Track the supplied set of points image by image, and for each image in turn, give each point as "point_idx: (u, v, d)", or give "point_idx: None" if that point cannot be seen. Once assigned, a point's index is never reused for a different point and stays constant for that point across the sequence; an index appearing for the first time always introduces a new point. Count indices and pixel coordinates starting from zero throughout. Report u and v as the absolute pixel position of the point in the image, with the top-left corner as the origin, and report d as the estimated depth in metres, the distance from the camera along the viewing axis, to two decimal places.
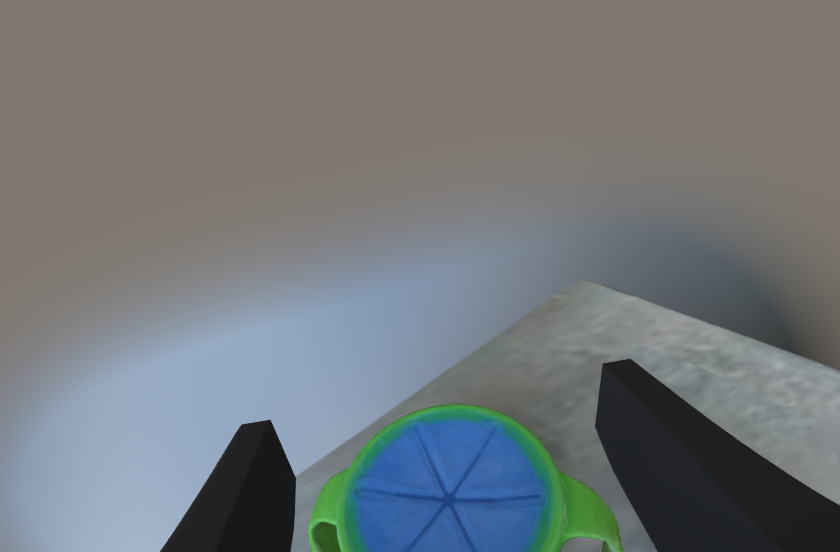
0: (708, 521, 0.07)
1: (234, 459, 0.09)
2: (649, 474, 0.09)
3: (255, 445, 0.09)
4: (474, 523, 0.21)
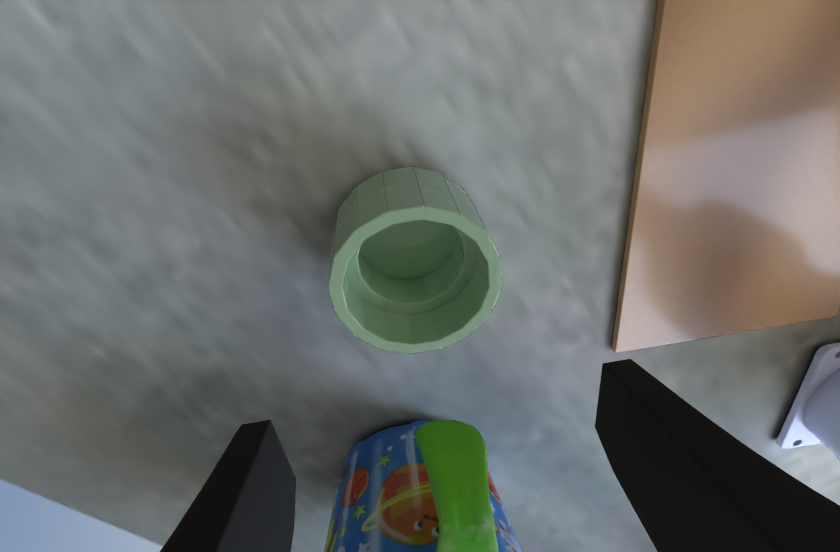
0: (708, 521, 0.07)
1: (234, 459, 0.09)
2: (649, 474, 0.09)
3: (255, 445, 0.09)
4: None
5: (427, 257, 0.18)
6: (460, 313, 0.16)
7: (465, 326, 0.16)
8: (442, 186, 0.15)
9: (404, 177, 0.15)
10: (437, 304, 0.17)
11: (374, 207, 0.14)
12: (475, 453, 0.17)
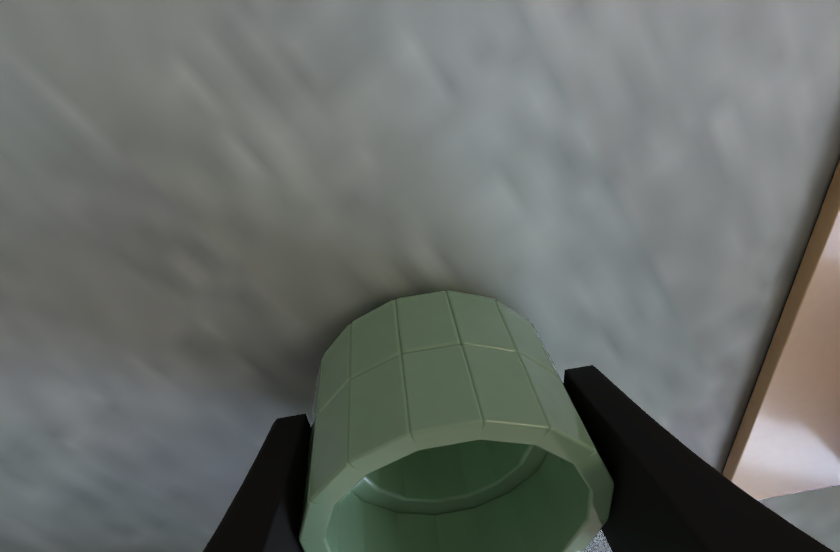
0: (656, 530, 0.07)
1: (274, 452, 0.09)
2: None
3: (293, 439, 0.09)
4: None
5: None
6: (526, 534, 0.10)
7: None
8: (502, 339, 0.09)
9: (435, 321, 0.09)
10: (483, 499, 0.11)
11: (384, 405, 0.07)
12: None
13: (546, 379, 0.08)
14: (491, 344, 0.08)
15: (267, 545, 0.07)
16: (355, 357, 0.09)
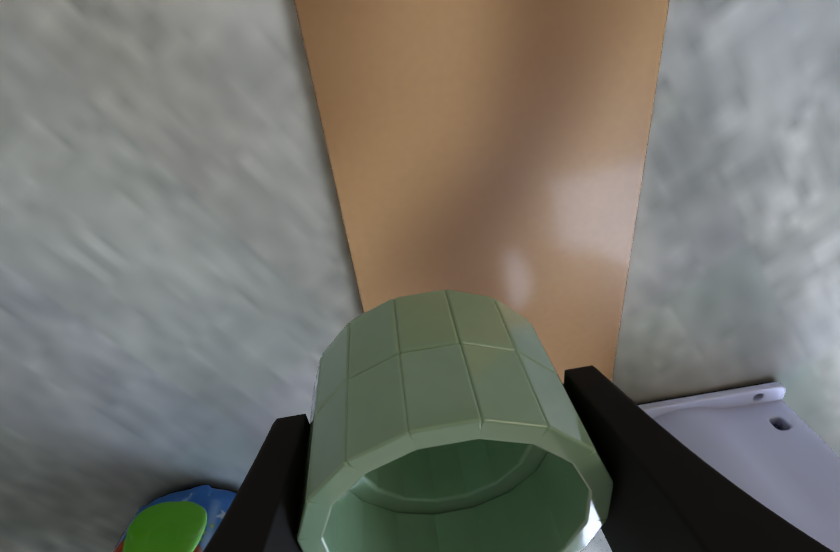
0: (656, 530, 0.07)
1: (274, 452, 0.09)
2: None
3: (293, 438, 0.09)
4: None
5: None
6: (525, 534, 0.10)
7: None
8: (501, 338, 0.09)
9: (434, 320, 0.09)
10: (482, 499, 0.11)
11: (383, 404, 0.07)
12: (182, 542, 0.17)
13: (545, 378, 0.08)
14: (490, 343, 0.08)
15: (267, 545, 0.07)
16: (354, 356, 0.09)
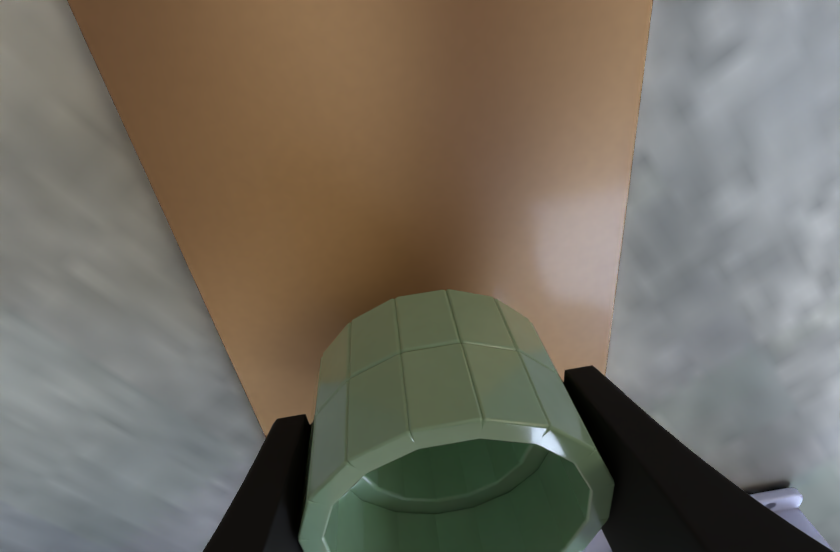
0: (656, 531, 0.07)
1: (274, 452, 0.09)
2: None
3: (293, 439, 0.09)
4: None
5: None
6: (526, 533, 0.10)
7: None
8: (502, 338, 0.09)
9: (435, 320, 0.09)
10: (482, 498, 0.11)
11: (384, 404, 0.07)
12: None
13: (546, 378, 0.08)
14: (491, 343, 0.08)
15: (267, 545, 0.07)
16: (354, 356, 0.09)
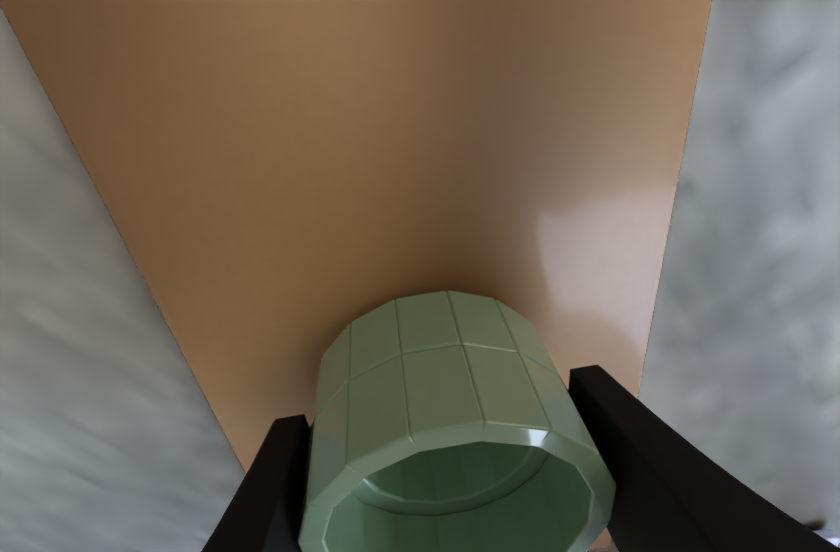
0: (663, 529, 0.07)
1: (272, 452, 0.09)
2: None
3: (292, 439, 0.09)
4: None
5: None
6: (527, 536, 0.10)
7: None
8: (503, 340, 0.09)
9: (435, 321, 0.09)
10: (483, 500, 0.11)
11: (384, 406, 0.07)
12: None
13: (547, 380, 0.08)
14: (492, 344, 0.08)
15: (265, 545, 0.07)
16: (354, 358, 0.09)
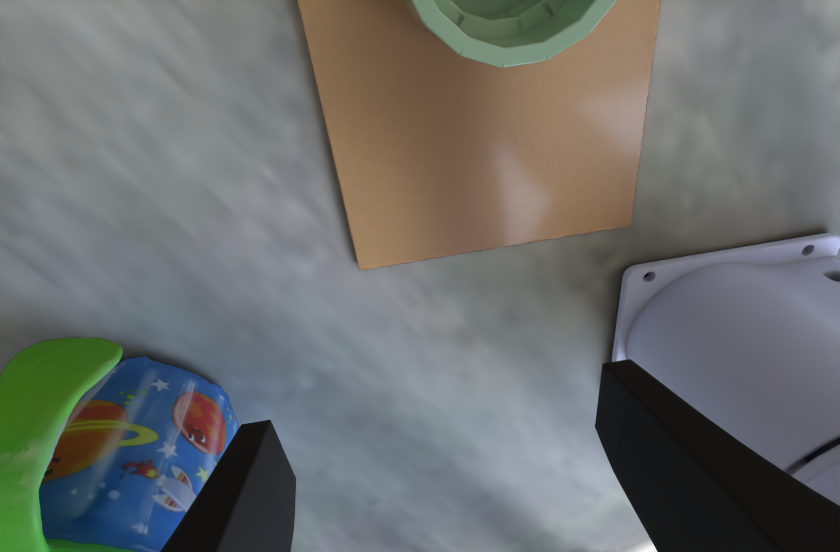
0: (708, 521, 0.07)
1: (234, 459, 0.09)
2: (649, 474, 0.09)
3: (255, 445, 0.09)
4: None
5: None
6: (571, 13, 0.11)
7: (584, 16, 0.11)
8: None
9: None
10: (530, 23, 0.12)
11: None
12: (81, 370, 0.13)
13: None
14: None
15: None
16: None
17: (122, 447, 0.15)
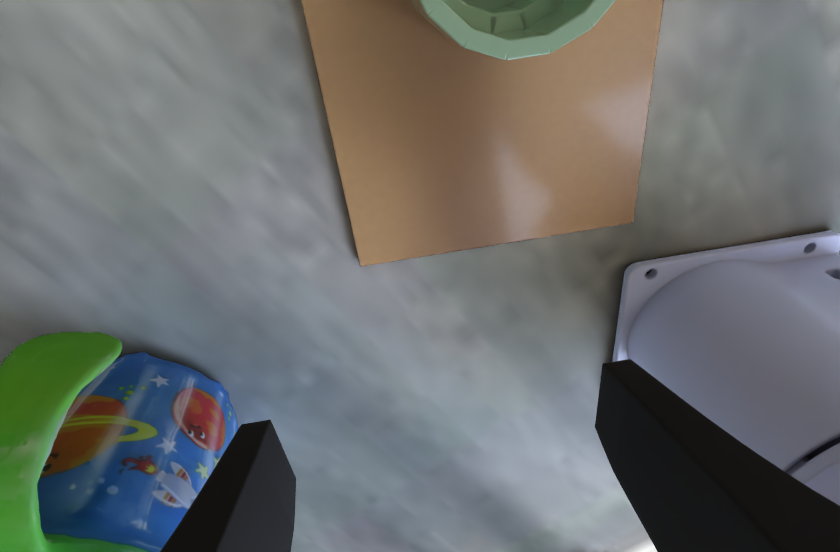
0: (708, 521, 0.07)
1: (234, 459, 0.09)
2: (649, 474, 0.09)
3: (255, 445, 0.09)
4: None
5: None
6: (576, 5, 0.11)
7: (589, 9, 0.11)
8: None
9: None
10: (534, 17, 0.12)
11: None
12: (80, 364, 0.13)
13: None
14: None
15: None
16: None
17: (121, 443, 0.15)
